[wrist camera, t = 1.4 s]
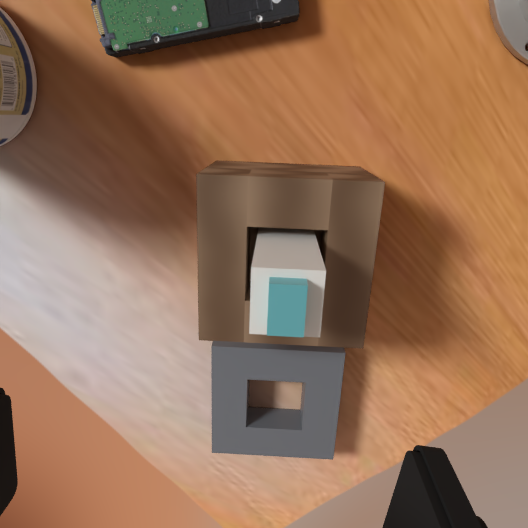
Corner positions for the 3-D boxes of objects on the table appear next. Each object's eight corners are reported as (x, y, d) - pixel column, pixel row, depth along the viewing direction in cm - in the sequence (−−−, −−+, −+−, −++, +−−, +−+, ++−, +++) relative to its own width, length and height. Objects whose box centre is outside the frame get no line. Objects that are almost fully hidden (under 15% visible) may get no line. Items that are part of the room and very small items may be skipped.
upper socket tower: (359, 166, 35) (384, 182, 27) (345, 298, 39) (363, 348, 31) (216, 160, 35) (196, 173, 27) (216, 292, 39) (198, 340, 31)
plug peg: (312, 225, 32) (328, 277, 21) (308, 275, 33) (321, 346, 23) (259, 223, 32) (249, 273, 22) (257, 272, 33) (247, 342, 23)
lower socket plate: (340, 336, 40) (345, 353, 38) (329, 437, 44) (333, 459, 41) (216, 330, 41) (211, 346, 38) (216, 431, 45) (212, 452, 42)
